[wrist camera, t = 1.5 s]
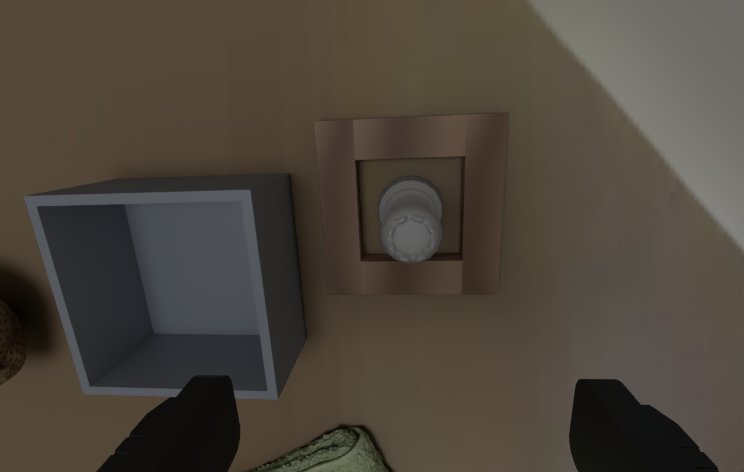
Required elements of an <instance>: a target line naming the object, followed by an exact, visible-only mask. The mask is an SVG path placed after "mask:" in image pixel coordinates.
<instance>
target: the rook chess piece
mask: <svg viewBox="0 0 744 472" xmlns="http://www.w3.org/2000/svg"><path fill="white" fill-rule="evenodd" d="M378 212H379V220H380V222H381V224H382V226H381V229H380V237H381V243H382V245H383V247H384V249H385V251H386V252H387V253H388V254H389V255H390V256H391V257H393V258H394V259H395V260H397V261H400V262H403V263H407V264H411V263H420V262H422V261H424V260H427V259H429V258H431V256H432V255H433V254H434V253H435V252H436V251H437V250H438V249H439V246H440V243H441V240H442V226H441V224H440V220H441V218H442V215H443V213H442V199H441V197H440V195H439V193H438V191H437V189H436V188H435V187H434V186H433V185H432V184H431V183H429V182H428V181H427V180H425V179H422V178H419V177H415V176H410V177H401V178H399V179H397V180H395V181H393V182H391V183H389V185H388V186H387V187H386V188H385V190H384V191H383V192H382V193H381V196H380V200H379V203H378Z"/></svg>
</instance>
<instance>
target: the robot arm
mask: <svg viewBox="0 0 744 472" xmlns="http://www.w3.org/2000/svg"><path fill="white" fill-rule="evenodd" d="M239 440H240V423H239V418H238V412H237V407H236V401H235V395H234V390H233V384H232V380H231V378H230V377H229V376H228V375H195V376H194V377H192V378H191V379H190V380H189V382H188V383H187V384H186V385H185V387H184V388H183V389H182V390H181V391H180V393H179V394H178V395H177V396H176V397H170V398H168V399H167V400H166V401H164V402H163V403H161V404H160V405H159V406H157V407H156V408H154V409H153V410H152V411H150V412H149V413H147V414H146V416H145V417H144V418H143V419H142V420H141V421H140V422H139V424H138V425H137V426H136V427H135V428H134V429H133V430H132V432H131V433H130V436H129V437H126V438H125V440H124V441H123V442H122V443H121V444H120V445H119V446H118V448H117V449H116V450H115V454H114V455H111V456H110V457H109V458H108V459H107V460H106V461H105V463H104V464H103V465H102V466H101V467H100V468H99V469H98V471H97V472H228V470H229V468H230V466H231V464H232V462H233V460H234V457H235V455H236V453H237V449H238V446H239ZM569 442H570V449H571V454H572V457H573V461H574V463H575V466H576V468H577V470H578V472H719V471H718V467H717V466H716V465H715V464H714V463H713V462H712V461H711V460H710V459H709V458H708V456H707V455H706V454H705V453H704V452H700V450H699V447H698V446H697V445H696V443H695V442H694V441H693V440H692V439H691V438H690V437H689V436H688V435H687V434H686V433H685V432H684V430H683V429H682V428H681V427H680V426H679V425H678V424H677V423H675V422H674V421H672V420H671V419H669V418H668V417H666V416H665V415H664V414H662V413H661V412H659V411H658V410H656V409H655V408H653V407H652V406H650V405H641V404H640V403H639V402H638V401H637V400H636V399H635V397H634V396H633V395H632V394H631V393H630V391H629V390H628V389H627V388H626V387H625V386H624V385H623V383H622V382H620V381H619V380H616V379H580V380H578V381H577V383H576V387H575V394H574V402H573V409H572V417H571V425H570V433H569Z"/></svg>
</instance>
